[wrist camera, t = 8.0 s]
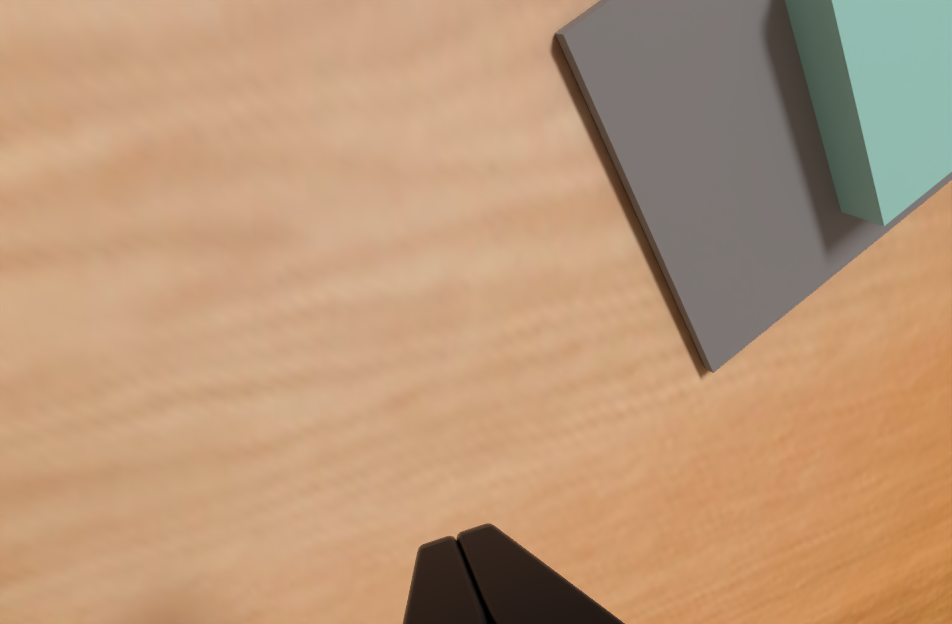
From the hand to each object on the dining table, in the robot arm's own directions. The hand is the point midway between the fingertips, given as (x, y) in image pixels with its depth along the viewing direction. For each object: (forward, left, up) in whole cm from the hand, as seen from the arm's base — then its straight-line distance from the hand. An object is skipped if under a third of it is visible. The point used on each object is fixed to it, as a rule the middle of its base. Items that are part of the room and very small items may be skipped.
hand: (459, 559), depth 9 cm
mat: (+11, -15, -11) cm, 22 cm away
